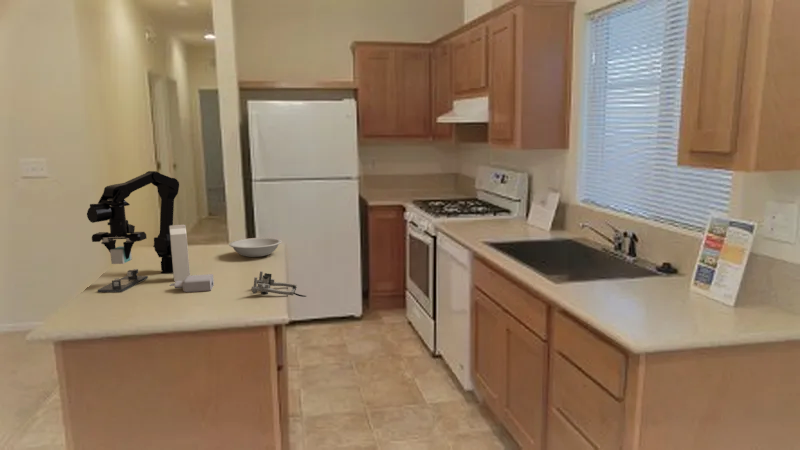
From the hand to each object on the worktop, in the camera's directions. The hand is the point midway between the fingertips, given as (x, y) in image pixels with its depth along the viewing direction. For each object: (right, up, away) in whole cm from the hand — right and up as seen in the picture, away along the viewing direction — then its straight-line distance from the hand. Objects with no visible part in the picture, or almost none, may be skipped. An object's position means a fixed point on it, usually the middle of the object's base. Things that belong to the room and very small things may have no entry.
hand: (121, 258), depth 221 cm
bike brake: (+64, -12, -12) cm, 66 cm away
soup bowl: (+40, -2, +50) cm, 64 cm away
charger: (+29, -11, -6) cm, 32 cm away
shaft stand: (0, -10, +2) cm, 10 cm away
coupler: (0, -1, 0) cm, 1 cm away
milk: (+20, -9, +9) cm, 24 cm away
